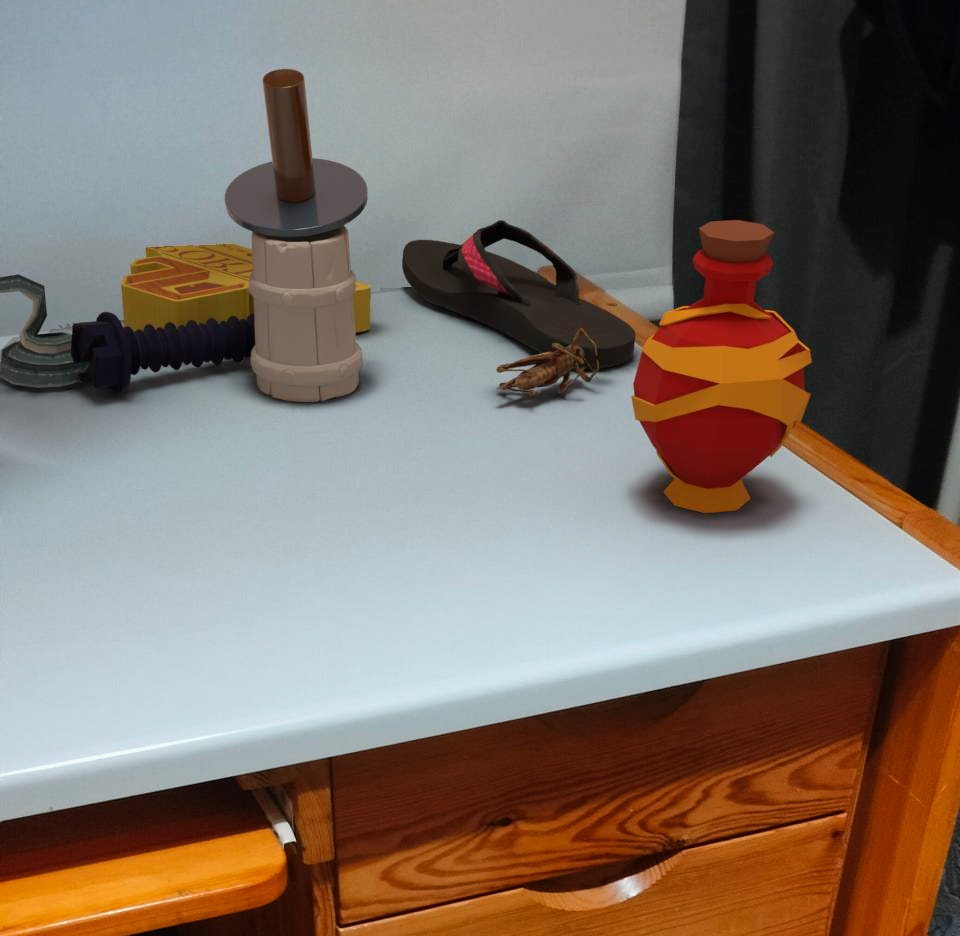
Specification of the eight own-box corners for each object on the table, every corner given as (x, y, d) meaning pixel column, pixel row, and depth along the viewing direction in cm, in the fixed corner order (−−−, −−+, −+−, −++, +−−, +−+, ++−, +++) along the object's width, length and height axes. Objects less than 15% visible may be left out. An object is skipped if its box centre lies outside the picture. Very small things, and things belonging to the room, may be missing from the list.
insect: (535, 426, 109) (483, 420, 112) (619, 383, 113) (566, 379, 117) (524, 356, 107) (471, 353, 110) (610, 315, 111) (556, 313, 114)
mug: (240, 400, 111) (224, 206, 103) (281, 342, 120) (269, 159, 112) (350, 408, 110) (343, 213, 102) (383, 349, 119) (379, 165, 111)
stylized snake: (-84, 375, 113) (-104, 275, 109) (184, 334, 121) (176, 238, 117) (-53, 410, 109) (-73, 306, 104) (224, 364, 116) (216, 266, 112)
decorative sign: (196, 271, 132) (42, 298, 123) (194, 231, 130) (38, 256, 121) (374, 328, 122) (221, 363, 113) (375, 287, 120) (219, 318, 111)
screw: (106, 374, 107) (80, 300, 107) (85, 408, 112) (60, 337, 111) (338, 348, 116) (315, 279, 116) (310, 381, 120) (288, 314, 120)
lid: (199, 221, 106) (180, 98, 100) (266, 155, 111) (251, 34, 105) (329, 248, 104) (317, 124, 98) (391, 179, 109) (383, 57, 103)
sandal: (479, 263, 134) (480, 187, 130) (671, 355, 119) (678, 272, 115) (380, 283, 130) (378, 205, 126) (565, 381, 115) (569, 295, 111)
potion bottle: (617, 524, 97) (637, 252, 87) (630, 457, 105) (650, 200, 95) (794, 537, 96) (836, 264, 86) (794, 468, 104) (832, 210, 94)
